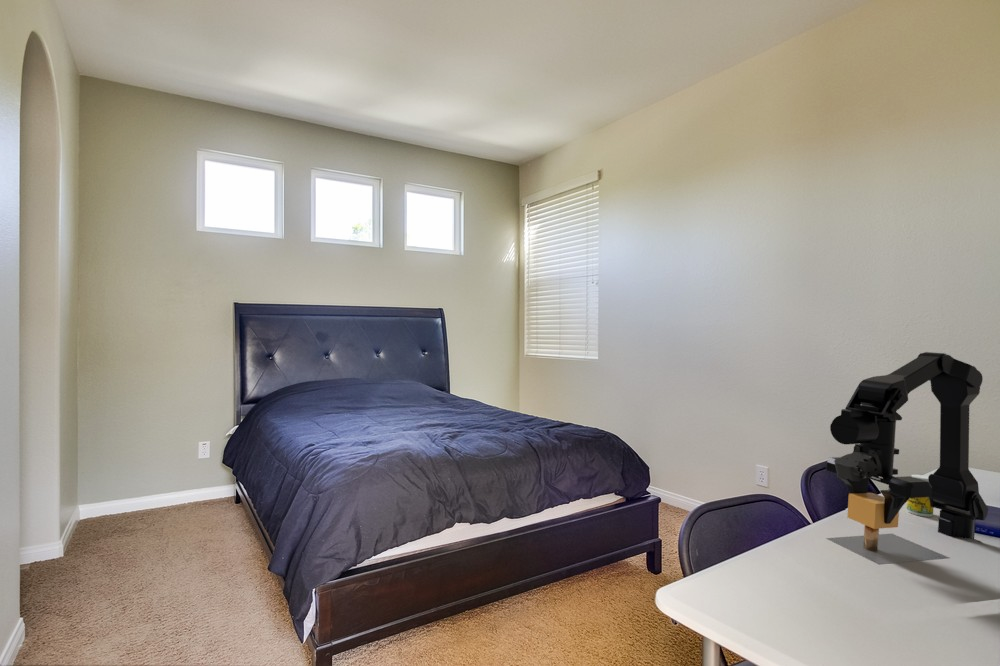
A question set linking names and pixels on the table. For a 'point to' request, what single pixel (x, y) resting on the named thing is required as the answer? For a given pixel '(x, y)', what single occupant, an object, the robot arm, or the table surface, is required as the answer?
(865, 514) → the cardboard cube
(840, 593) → the table surface
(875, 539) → the copper post
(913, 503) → the supplement bottle
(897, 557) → the plate
